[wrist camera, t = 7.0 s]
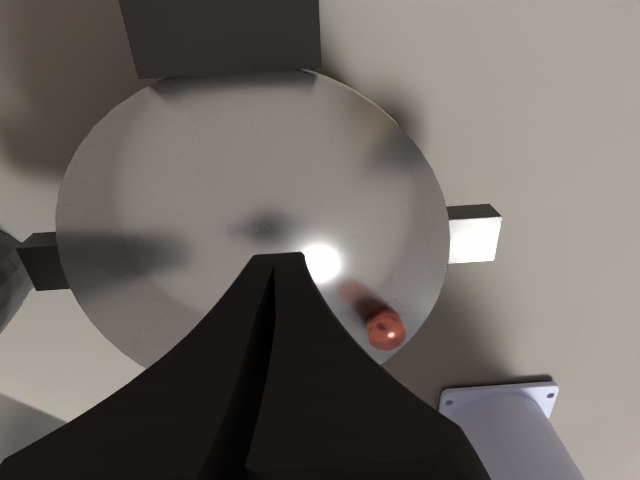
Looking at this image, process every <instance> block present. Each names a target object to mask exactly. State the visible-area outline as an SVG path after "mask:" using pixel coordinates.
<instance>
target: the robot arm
mask: <svg viewBox="0 0 640 480" xmlns="http://www.w3.org/2000/svg"><path fill="white" fill-rule="evenodd" d="M558 391H559V387H558V385H557V384H556V382H552V381H549V382H536V383H522V384H508V385H494V386H480V387H466V388H452V389H446V390H444V391H443V392H442V393H441V399H440V405H439V412H438V411H437V410H435V409H434V408H432V407H431V406H429V405H428V404H426V403H425V402H423V401H422V400H421V399H419V398H418V397H417V396H416V395H414V394H413V393H412V392H411V391H409V390H408V389H407V388H406V387H404V386H403V385H402V384H401V383H399V382H398V381H397V380H396V379H395V378H394V377H392V376H391V375H390V374H389V373H388V372H387V371H386V370H385V369H384V368H383V367H382V366H380V365H379V364H378V363H377V362H376V361H375V360H374V359H373V358H372V357H371V356H370V355H369V354H368V353H367V352H366V351H365V350H364V349H363V348H362V347H361V346H360V345H359V344H358V343H357V342H356V341H355V339H354V338H353V337H352V336H351V335H350V334H349V332H348V331H347V330H346V329H345V328H344V326H343V325H342V324H341V323H340V321H339V320H338V319H337V317H336V316H335V314H334V313H333V312H332V310H331V309H330V307H329V306H328V304H327V303H326V301H325V300H324V298H323V296H322V295H321V293H320V291H319V289H318V288H317V286H316V284H315V282H314V280H313V278H312V276H311V274H310V272H309V269H308V267H307V264H306V260H305V255H304V254H303V253H302V252H287V253H273V254H258V255H253V256H252V258H251V259H250V260H249V261H248V263H247V264H246V266H245V267H244V268H243V270H242V271H241V272H240V274H239V275H238V277H237V278H236V279H235V281H234V282H233V283H232V285H231V286H230V287H229V288H228V290H227V291H226V292H225V293H224V295H223V296H222V297H221V298H220V300H219V301H218V302H217V303H216V304H215V305H214V307H213V308H212V309H211V310H210V311H209V312H208V313H207V314H206V315H205V316H204V318H203V319H202V320H201V321H200V322H199V323H198V324H197V325H196V326H195V327H194V328H193V329H192V330H191V331H190V332H189V333H188V334H187V335H186V336H185V337H184V338H183V339H182V340H181V341H180V342H179V343H178V344H177V345H175V346H174V347H173V348H172V349H171V350H170V351H169V352H167V353H166V354H165V355H164V356H163V357H161V358H160V359H159V360H158V361H156V362H155V363H154V364H152V365H151V366H150V367H149V368H147V369H146V370H145V371H143V372H142V373H141V374H140V375H138V376H137V377H136V378H134V379H133V380H132V381H131V382H129V383H128V384H126V385H125V386H124V387H122V388H121V389H119V390H118V391H116V392H115V393H114V394H112V395H111V396H109V397H108V398H106V399H105V400H103V401H102V402H100V403H99V404H97V405H96V406H94V407H92V408H91V409H89V410H88V411H86V412H85V413H83V414H82V415H80V416H78V417H77V418H75V419H74V420H72V421H70V422H69V423H67V424H65V425H63V426H62V427H60V428H58V429H56V430H55V431H53V432H51V433H50V434H48V435H46V436H44V437H43V438H41V439H39V440H37V441H36V442H34V443H32V444H30V445H29V446H27V447H25V448H23V449H22V450H20V451H18V452H16V453H14V454H13V455H11V456H9V457H7V458H5V459H4V460H3V461H2V463H1V464H0V480H585V479H584V478H583V476H582V474H581V473H580V471H579V469H578V468H577V466H576V464H575V463H574V461H573V459H572V458H571V456H570V454H569V453H568V451H567V450H566V448H565V446H564V445H563V443H562V441H561V440H560V438H559V436H558V435H557V433H556V431H555V430H554V428H553V427H552V425H551V423H550V422H549V420H548V419H549V416H550V414H551V411H552V408H553V405H554V402H555V400H556V397H557V394H558Z"/></svg>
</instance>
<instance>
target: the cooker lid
mask: <svg viewBox="0 0 640 480" xmlns="http://www.w3.org/2000/svg"><path fill="white" fill-rule="evenodd" d="M119 3H120V7H121V11H122V15H123V18H124V22H125V26H126V30H127V34H128V38H129V42H130V46H131V50H132V54H133V58H134V62H135V66H136V70H137V74H138V78H139V79H143V78H160V77H167V78H164V79H162V80H160V81H158V82H156V83H153V84H151V85H149V86H147V87H145V88H143V89H141V90H139V91H138V92H136V93H135V94H133V95H132V96H130V97H129V98H127V99H126V100H124V101H123V102H121V103H120V104H118V105H117V106H115V107H114V108H113V109H112V110H111V111H110V112H109V113H108V114H107V115H105V116H104V117H103V118H102V119H101V120H100V121H99V122H98V123H97V124H96V125H95V126H94V127H93V128H92V129H91V131H90V132H89V133H88V135H87V136H86V137H85V139H84V140H83V141H82V143H81V144H80V145H79V146H78V148H77V150H76V152H75V154H74V156H73V158H72V160H71V161H70V163H69V165H68V167H67V169H66V172H65V175H64V178H63V181H62V184H61V188H60V191H59V195H58V202H57V209H56V217H55V218H56V242H57V247H58V252H59V257H60V262H61V265H62V268H63V271H64V274H65V277H66V279H67V282H68V285H69V286H70V288H71V290H72V292H73V294H74V296H75V298H76V300H77V302H78V304H79V305H80V306H81V308H82V309H83V311H84V312H85V314H86V315H87V316H88V318H89V319H90V321H91V322H92V323H93V324H94V325H95V326H96V328H97V329H98V330H99V331H100V332H101V333H102V334H103V335H104V336H105V338H107V339H108V340H109V341H110V342H111V343H112V344H113V345H114V346H116V347H117V348H118V349H119V350H120V351H121V352H123V353H124V354H125V355H127V356H128V357H130V358H131V359H132V360H134V361H135V362H137V363H138V364H139V365H141V366H143V367H145V368H146V369H147V368H149V367H150V366H151V365H152V364H154V363H155V362H156V361H158V360H159V359H160V358H161V357H163V356H164V355H165V354H166V353H167V352H169V351H170V350H171V349H172V348H173V347H174V346H175V345H177V344H178V343H179V342H180V341H181V340H182V339H183V338H184V337H185V336H186V335H187V334H188V333H189V332H190V331H191V330H192V329H193V328H194V327H195V326H196V325H197V324H198V323H199V322H200V321H201V320H202V319H203V318H204V316H205V315H206V314H207V313H208V312H209V311H210V310H211V309H212V308H213V307H214V305H215V304H216V303H217V302H218V301H219V300H220V298H221V297H222V296H223V295H224V293H225V292H226V291H227V290H228V288H229V287H230V286H231V285H232V283H233V282H234V281H235V279H236V278H237V277H238V275H239V274H240V272H241V271H242V270H243V268H244V267H245V266H246V264H247V263H248V261H249V260H250V259H251V258H252V256H253V255H258V254H273V253H287V252H302V253H303V254H304V255H305V260H306V264H307V267H308V269H309V272H310V274H311V276H312V278H313V280H314V282H315V284H316V286H317V288H318V289H319V291H320V293H321V295H322V296H323V298H324V300H325V301H326V303H327V304H328V306H329V307H330V309H331V310H332V312H333V313H334V314H335V316H336V317H337V319H338V320H339V321H340V323H341V324H342V325H343V326H344V328H345V329H346V330H347V331H348V332H349V334H350V335H351V336H352V337H353V338H354V339H355V341H356V342H357V343H358V344H359V345H360V346H361V347H362V348H363V349H364V350H365V351H366V352H367V353H368V354H369V355H370V356H371V357H372V358H373V359H374V360H375V361H376V362H377V363H378V364H379V365H381V364H382V363H384V362H385V361H387V360H388V359H390V358H391V357H392V356H393V355H394V354H395V353H397V352H398V351H399V350H400V349H401V348H402V347H404V346H405V345H406V343H407V342H408V341H409V340H410V339H411V338H412V337H413V336H414V335H415V334H416V333H417V331H418V330H419V329H420V327H421V326H422V324H423V323H424V322H425V320H426V319H427V317H428V316H429V314H430V312H431V310H432V308H433V307H434V305H435V303H436V301H437V299H438V297H439V294H440V291H441V289H442V286H443V283H444V280H445V277H446V272H447V267H448V262H449V253H450V228H449V219H448V212H447V209H446V205H445V201H444V197H443V193H442V191H441V188H440V186H439V184H438V181H437V179H436V177H435V175H434V172H433V170H432V168H431V167H430V165H429V164H428V162H427V160H426V159H425V157H424V156H423V154H422V153H421V151H420V149H419V148H418V147H417V146H416V144H415V143H414V142H413V141H412V140H411V139H410V137H409V136H408V135H407V134H406V133H405V132H404V130H403V129H402V128H401V127H400V126H399V125H398V124H397V122H396V121H395V120H394V119H393V118H392V117H390V116H389V115H388V114H387V113H386V112H385V111H384V110H382V109H381V108H380V107H379V106H378V105H377V104H375V103H374V102H373V101H371V100H370V99H368V98H367V97H365V96H364V95H362V94H361V93H359V92H357V91H356V90H354V89H353V88H351V87H350V86H347V85H345V84H343V83H341V82H339V81H336V80H334V79H332V78H330V77H328V76H326V75H323V74H320V73H317V72H313V71H310V70H307V69H314V68H321V45H320V22H319V0H119Z"/></svg>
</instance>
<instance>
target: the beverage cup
mask: <svg viewBox="0 0 640 480" xmlns="http://www.w3.org/2000/svg"><path fill="white" fill-rule="evenodd" d="M20 244H21V243H20V242H19V241H17V240H16V239H14V238H13V237H11V236H10V235H8V234H6V233H3V232H1V231H0V334H1V332H2V331H3V330H4V328H5V327H6V326H7V324H8V323H9V322H10V320H11V319H12V318H13V316H14V315H15V314H16V312H17V311H18V310H19V308H20V307H21V306H22V303H23V301H24V299H25V298H26V296H27V295H28V293H29V291H30V290H31V289H32V288H33V287H34V285H33V283H32V281H31V279H30V277H29V275H28V273H27V271H26V269H25V267H24V265H23V263H22V261H21V259H20V257H19V255H18V253H17V251H16V249H15V248H17V247H18V246H19V245H20Z"/></svg>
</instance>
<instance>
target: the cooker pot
mask: <svg viewBox="0 0 640 480" xmlns="http://www.w3.org/2000/svg"><path fill="white" fill-rule="evenodd" d="M307 70H310V71H313V72H316V71H314V70H311V69H307ZM317 73H319V72H317ZM320 74H321V73H320ZM446 209H447V212H448V219H449V228H450V253H449V262H448V263H463V262H478V261H493V260H494V257H495V251H496V246H497V241H498V236H499V231H500V226H501V221H502V216H501V215H500V214H499V213H498V212H497V211H496V210H495V209H494V208H493V207H492V206H491V205H490V204H480V205H464V206H448V207H446ZM15 249H16V251H17V253H18V255H19V257H20V259H21V261H22V263H23V265H24V267H25V269H26V271H27V273H28V275H29V277H30V279H31V281H32V283H33V285H34V287H35V289H36V291H43V290H58V289H71V288H70V286H69V285H68V282H67V279H66V277H65V274H64V271H63V268H62V265H61V262H60V257H59V252H58V247H57V242H56V232H45V233H33V234H32V235H31V236H30V237H28V238H27V239H26V240H25V241H24V242H23V243H21V244H20V245H19V246H18V247H17V248H15Z"/></svg>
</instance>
